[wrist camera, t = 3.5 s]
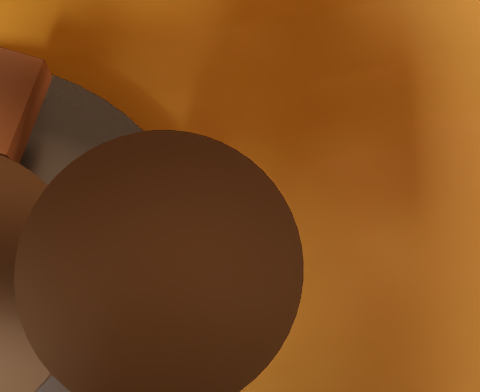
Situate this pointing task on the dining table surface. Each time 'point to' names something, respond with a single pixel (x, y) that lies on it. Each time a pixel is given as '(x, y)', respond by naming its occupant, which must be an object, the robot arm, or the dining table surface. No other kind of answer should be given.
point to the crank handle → (138, 259)
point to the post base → (70, 139)
